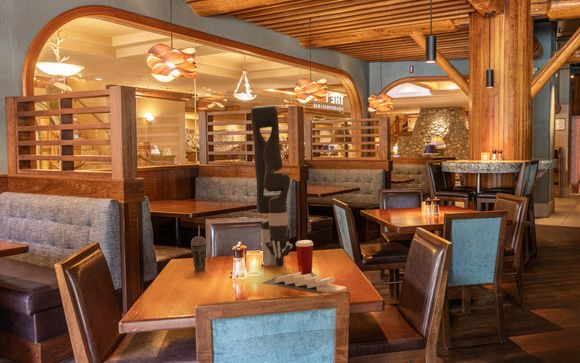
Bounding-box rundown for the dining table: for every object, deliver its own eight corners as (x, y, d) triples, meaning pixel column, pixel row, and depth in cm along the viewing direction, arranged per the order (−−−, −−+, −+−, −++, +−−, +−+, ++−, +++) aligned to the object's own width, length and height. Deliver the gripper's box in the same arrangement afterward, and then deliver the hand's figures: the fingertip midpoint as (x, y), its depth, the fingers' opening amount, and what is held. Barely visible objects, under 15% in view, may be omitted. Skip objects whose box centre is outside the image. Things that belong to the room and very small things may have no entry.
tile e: (316, 286, 191) (339, 290, 185) (323, 283, 195) (346, 286, 189) (316, 290, 192) (339, 294, 186) (324, 287, 196) (346, 291, 189)
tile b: (284, 281, 201) (303, 276, 195) (291, 278, 205) (310, 273, 199) (285, 285, 201) (304, 280, 195) (292, 281, 205) (312, 277, 199)
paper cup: (317, 272, 221) (316, 240, 219) (310, 276, 214) (309, 243, 212) (300, 271, 224) (299, 239, 223) (293, 275, 217) (292, 242, 216)
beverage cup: (188, 271, 230) (186, 227, 229) (197, 267, 237) (195, 224, 235) (202, 272, 228) (200, 228, 226) (211, 268, 234) (208, 225, 233)
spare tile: (303, 283, 202) (323, 279, 195) (295, 286, 198) (315, 282, 192) (302, 279, 202) (321, 274, 196) (294, 282, 198) (314, 278, 192)
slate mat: (261, 284, 205) (261, 282, 205) (276, 278, 213) (276, 277, 213) (319, 295, 188) (319, 293, 188) (333, 288, 196) (333, 286, 196)
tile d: (306, 284, 194) (327, 279, 188) (313, 281, 198) (334, 276, 192) (307, 288, 194) (328, 283, 188) (315, 285, 198) (335, 280, 192)
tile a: (274, 279, 204) (293, 274, 198) (282, 276, 208) (300, 271, 202) (275, 283, 204) (294, 278, 198) (283, 280, 208) (301, 275, 202)
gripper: (259, 223, 204) (261, 266, 206) (285, 226, 196) (287, 270, 198) (271, 221, 210) (273, 262, 212) (297, 223, 202) (298, 266, 204)
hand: (280, 266), depth 205 cm, fingers closed
